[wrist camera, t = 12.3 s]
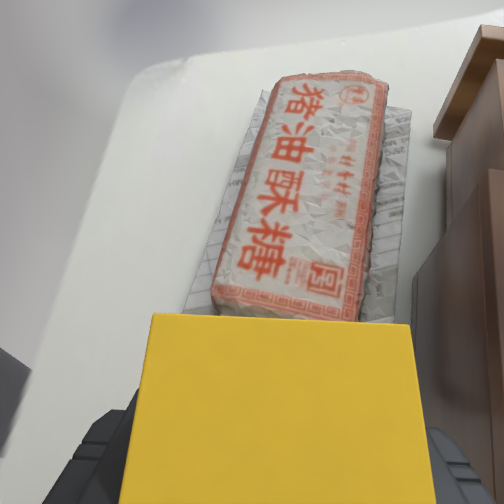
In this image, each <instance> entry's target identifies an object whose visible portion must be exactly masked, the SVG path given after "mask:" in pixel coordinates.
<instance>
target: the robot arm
mask: <svg viewBox="0 0 504 504" xmlns="http://www.w3.org/2000/svg"><path fill="white" fill-rule="evenodd" d="M138 392H139V388H138V389H137V391H136V393H135V394H134V396H133V398H132V400H131V402H130V404H129V405H128V407H127V409H126V410H113V409H112V410H110V411H109V412H108V413H106V414H105V415H104V416H102V417H101V418H100V419H98V420H97V421H96V422H94V423H93V424H92V426H91V427H90V429H89V431H88V432H87V434H86V435H85V437H84V438H83V440H82V444H80V445H79V446H78V448H77V449H76V451H75V453H74V454H73V457H72V459H70V460H69V462H68V464H67V465H66V467H65V468H64V470H63V471H62V473H61V475H60V476H59V478H58V479H57V481H56V482H55V484H54V486H53V487H52V489H51V490H50V492H49V493H48V495H47V497H46V498H45V500H44V501H43V503H42V504H118V503H119V497H120V491H121V486H122V480H123V475H124V469H125V464H126V458H127V453H128V447H129V442H130V436H131V431H132V425H133V420H134V414H135V409H136V403H137V398H138ZM425 431H426V437H427V444H428V451H429V457H430V464H431V471H432V478H433V484H434V491H435V498H436V504H497V503H496V502H495V500H494V498H493V497H492V495H491V494H490V492H489V491H488V489H487V488H486V486H485V485H484V483H481V478H480V477H479V475H478V474H477V472H476V471H475V469H474V468H473V467H471V465H470V462H469V460H468V458H467V457H466V455H465V454H464V452H463V451H462V449H461V448H460V446H459V445H458V443H456V442H455V441H454V440H453V439H451V438H450V437H449V436H448V435H447V434H445V433H444V432H443V431H442V430H440V429H439V428H438V427H426V426H425Z"/></svg>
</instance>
